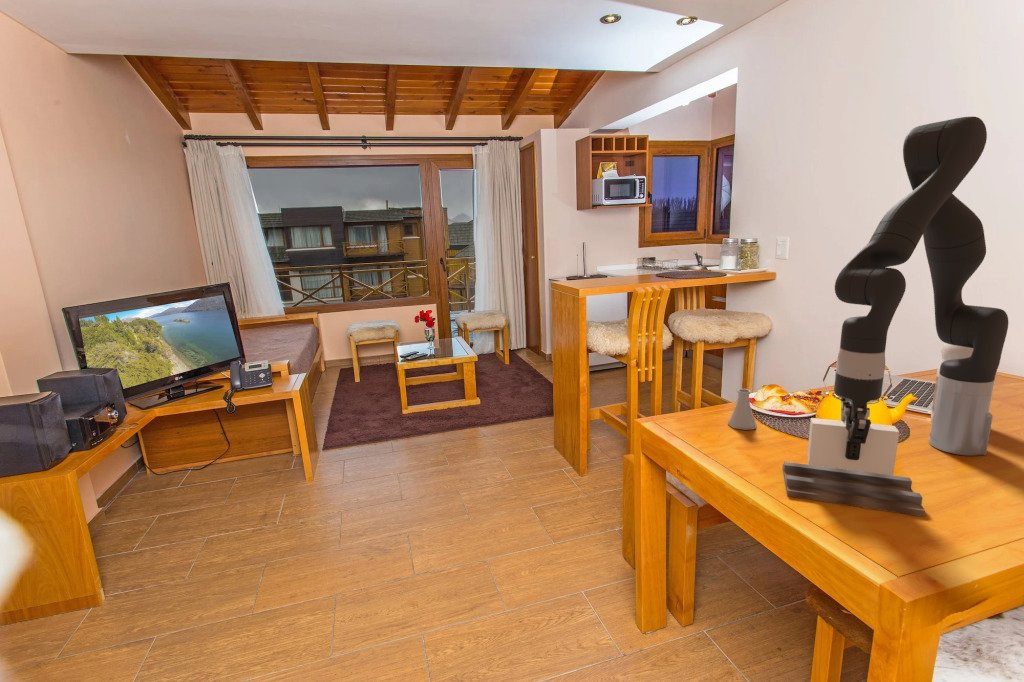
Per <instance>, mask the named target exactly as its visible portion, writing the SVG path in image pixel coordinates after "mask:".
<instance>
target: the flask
mask: <svg viewBox="0 0 1024 682" xmlns="http://www.w3.org/2000/svg"><path fill="white" fill-rule="evenodd" d="M737 393H738V396H737V400H736V403H735V407H734V410H733V411H732V413H731V415H730V418H729V420H728V422H727V425H728V426H730V427H731V428H733V429H735V430H744V431H748V430H755V429H756V428H757V421H756V419H755V416H754V414H753V410H752V407H751V404H750V402H751V401H750V394H751V390H750V389H748V388H738V389H737Z"/></svg>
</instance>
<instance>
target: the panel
mask: <svg viewBox="0 0 1024 682" xmlns="http://www.w3.org/2000/svg"><path fill="white" fill-rule="evenodd" d="M809 423H810V424H809V434H808V443H807V444H808V445H807V454H806V455H807V456H806V459H807V462H808V465H814V466H822V467H830V468H838V469H846V470H853V471H861V472H869V473H877V474H885V475H892V476H895V474H894V473H895V469H896V467H895V465H896V460H897V451H898V446H899V438H900V430H899V429H898V428H897V427H896V426H895V425H889V424H888V425H887V424H879V423H871V424H870V428H869V431H868V435H867V438H866V442H865V444H862V443H861V448H860V456H859V460H850V459H847V458H846V457H845V453H846V444H847V440H846V437H847V429H846V428H845V426H844V425H845V421H841V420H836V419H835V420H834V419H827V418H817V417H816V418H815V417H811V418H810V421H809ZM849 425H852V424H849ZM855 436H859V435H855Z"/></svg>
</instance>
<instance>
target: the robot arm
mask: <svg viewBox="0 0 1024 682" xmlns="http://www.w3.org/2000/svg"><path fill="white" fill-rule="evenodd" d="M987 132H988V131H987V126H986V124H985V122H984V121H983V119H981V118H980V117H977V116H963V117H961V116H960V117H957V118H951V119H947V120H942V121H935V122H931V123H927V124H922V125H918V126H915V127H913V128H912V129H911V130H909V132H908V133H907V134H906V136H905V138H904V141H903V144H902V145H903V146H902V157H903V162H904V163H903V164H904V168H905V171H906V175H907V178H908V181H909V184H910V186H911V190H912V191H911V192H909V193H908V194H906V195H905V196H904V197H903V198H901V199H900V200H899V201H898V202H897V203H895V204H894V205H893V206H892V207H891V208H890V209H889V210H888V211H886V213H885V214H884V215H883V216H882V218H881V219H880V221H879V223H878V225H877V227H876V228H875V230H874V232H873V234H872V235H871V238H870V239H869V241H868V243H867V244H866V245H865V246H864V247H863V248H862V249H860V250H859V252H857V254H856V255H855V256H854V257H852V258H851V260H850V261H848V263H847V264H846V265H845V266H844V267H843V268H842V269H841V270H840V272H839V273H838V275H837V277H836V279H835V284H834V294H835V296H836V298H837V299H838V300H839V301H841V302H842V303H846V304H850V305H861V306H869V307H870V310H869V312H868V313H867V315H863V316H853V317H848V318H846V319H845V320H844V321H843V323H842V326H841V332H840V342H839V343H840V345H839V350H838V354H837V358H836V365H835V366H836V367H835V375H834V376H835V377H834V387H833V391H834V394H836V395H837V396H838V397H840V398H841V399H840V403H841V409H840V411H841V412H840V421H845V425H844V426H845V428H846V429H847V437H846V440H847V444H846V453H845V457H846V458H847V459H850V460H859V456H860V448H861V443H862V444H865V442H866V438H867V435H868V431H869V428H870V424H872V421H871V419H869V417H870V414H871V409H870V407H868V403H869V402H871V401H873V402H874V401H877V400H879V399H881V398H882V393H883V385H884V377H885V376H884V375H885V368H886V346H887V340H888V339H887V338H888V332H889V328H890V325H891V323H892V321H893V318H894V315H895V314H896V311H897V309H898V307H899V306H900V303H901V302H902V299H903V297H904V295H905V292H906V290H907V289H906V288H907V283H906V278H905V276H904V274H903V273H902V272H901V271H900V270H898V269H897V268H894V266H895V267H896V266H900V265H902V264H905V263H906V262H907V261H909V260H910V258H911V257H912V255H913V253H914V251H915V250H916V248H917V246H918V245H919V242H920V241H921V238H922V237H923V244H924V250H925V254H926V260H927V263H928V268H929V272H930V277H931V278H930V279H931V285H932V288H933V289H932V290H933V305H934V307H933V308H934V321H935V323H934V324H935V329H936V333H937V336H938V338H939V339H940V341H941V342H942V343H947V344H951V345H957V346H963V347H969V348H974V349H973V352H972V355H971V357H968V358H963V359H952V360H947V361H944V362H942V361H941V362H942V364H941V366H940V372H939V378H938V386H937V392H936V399H935V406H934V412H933V419H931V420H932V421H931V427H930V432H929V440H928V441H929V444H930V445H931V446H932V447H933V448H935V449H937V450H939V451H943V452H944V453H945V452H946V453H949V454H954V455H958V456H959V455H960V456H970V457H971V456H979V455H982V456H983V455H984V456H987V450H988V447H989V446H988V445H989V441H990V439H989V438H990V434H991V428H992V423H993V418H994V417H993V414H992V413H991V412H990V407H991V402H992V398H993V397H992V396H993V391H994V385H995V379H996V375H997V371H998V368H999V366H1000V362H1001V358H1002V354H1003V348H1004V345H1005V342H1006V338H1007V333H1008V329H1009V317H1008V313H1007V312H1006V311H1005V310H1004V309H1002V308H999V307H989V306H980V305H979V306H978V305H968V304H965V303H964V300H963V296H962V294H963V293H962V292H963V287H964V286H965V285H966V283H967V281H968V280H969V279H970V278H971V276H973V274H975V272H976V271H977V270H978V268H979V267H980V266H981V265H982V263H983V262H984V260H985V257H986V255H987V245H986V236H985V229H984V225H983V223H982V221H981V219H980V218H979V216H978V215H976V213H975V212H974V211H973V210H972V209H971V208H969V207H968V205H966V204H965V203H964V202H962V200H960V198H958V197H957V196H955V194H954V192H955V191H956V190H957V188H958V187H959V185H961V183H962V182H963V180H965V178H966V176H967V175H968V174H969V173H970V172H971V170H972V169H973V168H974V167H975V166H976V163H978V161H979V159H981V157H982V154H983V152H984V150H985V147H986V144H987V139H988V133H987ZM849 424H852V425H849ZM855 435H859V436H855Z"/></svg>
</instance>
